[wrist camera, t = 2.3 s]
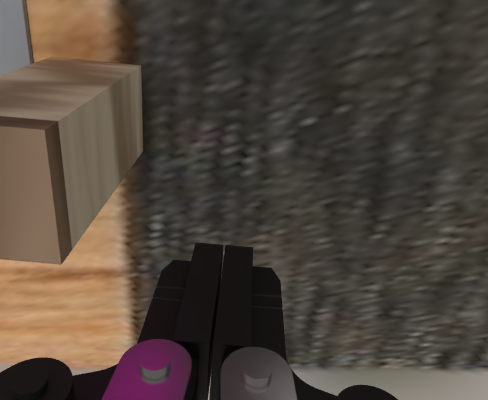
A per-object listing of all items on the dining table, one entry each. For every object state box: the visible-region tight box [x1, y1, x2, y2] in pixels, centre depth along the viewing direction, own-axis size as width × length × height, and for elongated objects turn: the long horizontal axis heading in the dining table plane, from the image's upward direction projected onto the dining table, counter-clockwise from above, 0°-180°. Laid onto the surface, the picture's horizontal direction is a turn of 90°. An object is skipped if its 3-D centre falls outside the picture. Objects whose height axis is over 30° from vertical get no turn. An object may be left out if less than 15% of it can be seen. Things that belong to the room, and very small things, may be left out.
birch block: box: [0, 57, 143, 265], centre depth 20 cm, size 5×5×12 cm
